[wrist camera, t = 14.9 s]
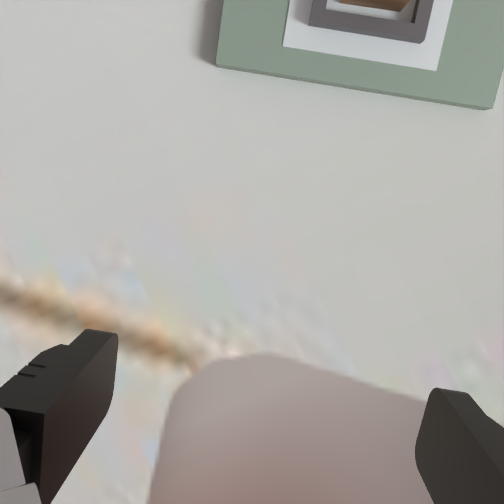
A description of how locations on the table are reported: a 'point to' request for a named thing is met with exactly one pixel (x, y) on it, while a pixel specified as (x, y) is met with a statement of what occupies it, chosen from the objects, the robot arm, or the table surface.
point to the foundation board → (372, 46)
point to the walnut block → (378, 4)
